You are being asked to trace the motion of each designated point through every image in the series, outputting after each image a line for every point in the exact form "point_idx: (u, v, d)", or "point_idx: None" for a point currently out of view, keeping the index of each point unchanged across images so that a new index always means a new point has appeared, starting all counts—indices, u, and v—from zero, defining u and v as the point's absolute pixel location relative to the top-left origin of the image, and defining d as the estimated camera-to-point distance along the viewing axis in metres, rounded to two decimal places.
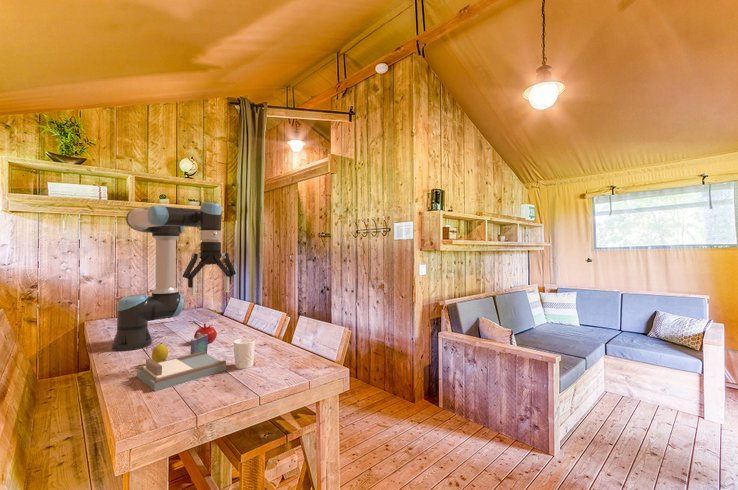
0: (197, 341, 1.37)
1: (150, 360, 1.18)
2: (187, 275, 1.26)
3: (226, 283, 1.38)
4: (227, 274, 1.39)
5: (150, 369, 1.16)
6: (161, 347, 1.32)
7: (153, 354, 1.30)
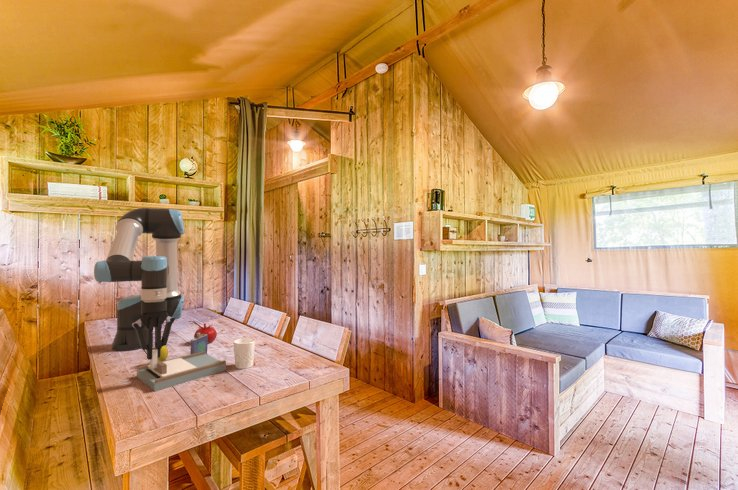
0: (197, 341, 1.37)
1: None
2: (144, 346, 1.13)
3: None
4: (155, 346, 1.17)
5: (155, 368, 1.17)
6: None
7: None
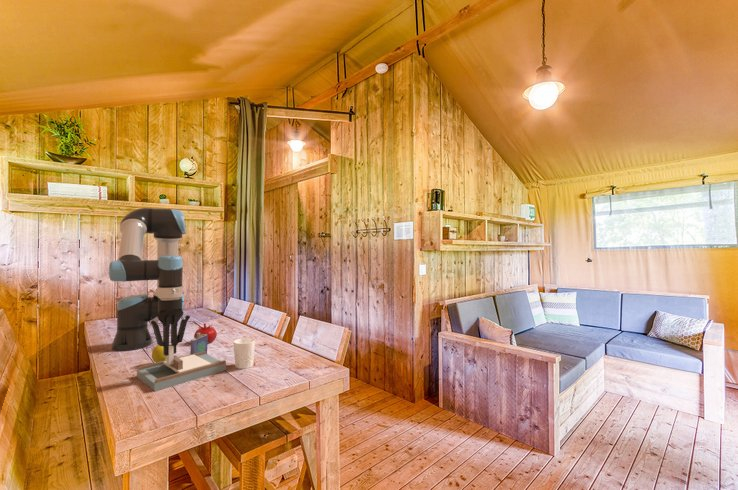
0: (197, 341, 1.37)
1: None
2: (161, 343, 1.17)
3: None
4: (172, 342, 1.21)
5: (171, 364, 1.21)
6: (161, 347, 1.32)
7: (153, 354, 1.30)
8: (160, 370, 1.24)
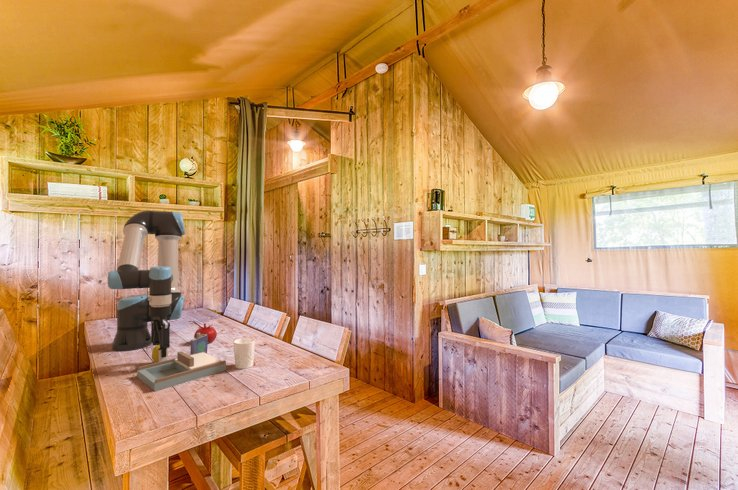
0: (197, 341, 1.37)
1: (181, 353, 1.26)
2: (151, 340, 1.35)
3: None
4: None
5: (182, 361, 1.24)
6: None
7: (153, 354, 1.30)
8: (160, 370, 1.24)
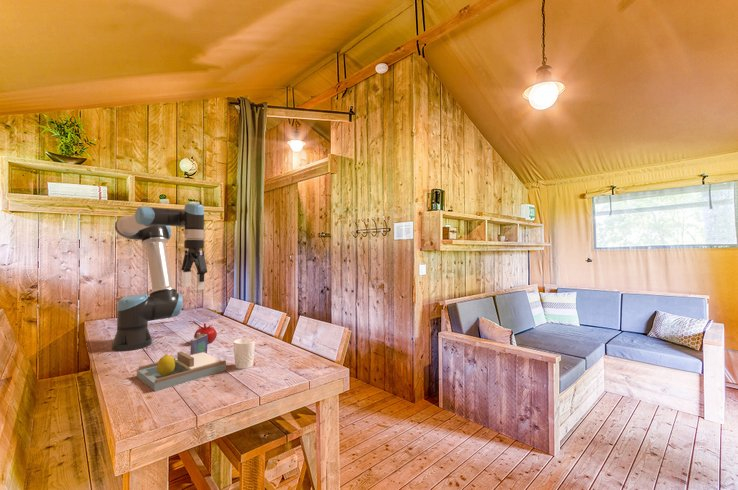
0: (197, 341, 1.37)
1: (181, 353, 1.26)
2: (182, 268, 1.50)
3: None
4: None
5: (182, 361, 1.24)
6: (168, 358, 1.18)
7: (159, 366, 1.17)
8: None
